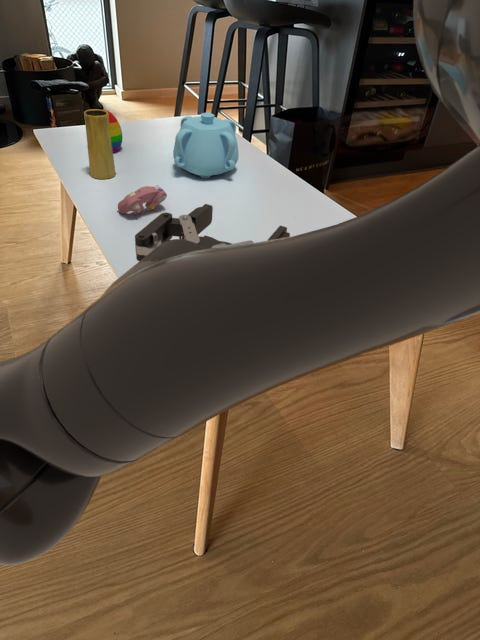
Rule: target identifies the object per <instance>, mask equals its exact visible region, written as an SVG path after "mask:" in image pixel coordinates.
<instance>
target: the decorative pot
mask: <svg viewBox="0 0 480 640" xmlns="http://www.w3.org/2000/svg"><path fill="white" fill-rule="evenodd" d="M236 132H237V125H236V123H235V122H234V121H233V120H231V119H229V118H226V119H222V118H219V117H217V116H215V114H214V113H212V112H202V113H200V116H195V117H192V116H190V115H188V116H184V117H182V118H181V119H180V127H179V130H178V132H177V133H176V135H175V138H174V145H173V153H172V154H173V159H174V160H173V163H174V165H175V166H177V167H179V168H181V169H183V170H184V171H187V172H188V173H191V174H193V175H196V176H199V178H202V179H209V178H211V176H217V175H221V174H224V173H228V172H229V171H233V170H234V169H235V167H236V164H237V163H238V161H239V154H240V153H239V145H238V141H237V137H236Z"/></svg>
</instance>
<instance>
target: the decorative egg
mask: <svg viewBox="0 0 480 640" xmlns="http://www.w3.org/2000/svg"><path fill="white" fill-rule="evenodd" d="M104 110H105V111H107V112H108V115H109V126H110V136H111V144H112V151H113V153H116V152H118V151H119V150H120V148H121V147H122V143H123V131H122V127H121V125H120V122H119V120H118V119H117V117H116V115H114V114H113V113H112V112H110V111H109V110H106V109H104Z"/></svg>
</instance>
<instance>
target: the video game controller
mask: <svg viewBox="0 0 480 640" xmlns="http://www.w3.org/2000/svg"><path fill="white" fill-rule="evenodd" d="M167 197H168V194H167V193H166V191H165V190H164V189H163V188H162V187H160V186H159V185H158V184H157V185H155V186H152V185H151V186H148V185H147V186H141V187H139V188H138V189H137V190H135V191H131V192H129V194H127V195H126V196H125V197H124V198H123V199H121V200H120V201H119V202H118V203H117V210H118V212H119V213H121V214H127V213H130V212H133V213H134V214H135V215H140V214H142V213H143V212H144V211H145V208H146V210H147V211H153V210H155V209H156V207H158V206H159V204H161V203H163V202H164V201H165V200H166V199H167ZM143 204H145V205H143Z"/></svg>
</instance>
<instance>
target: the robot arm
mask: <svg viewBox="0 0 480 640" xmlns="http://www.w3.org/2000/svg"><path fill="white" fill-rule="evenodd" d="M412 12H413V13H412V14H413V15H412V17H413V33H414V39H415V46H416V49H417V54H418V57H419V60H420V64H421V66H422V68H423V71H424V74H425V76H426V78H427V80H428V83H429V85H430V88H431V90H432V91H433V93H434V95H435V96H436V97H437V99H438V100H439V101H440V102H441V104H442V105H443V106H444V107H445V109H446V110H447V111H448V113H449V114H450V116H451V117H452V118H453V119H454V120H455V121H456V122H457V124H458V125H459V126H460V127H461V128H462V130H464V132H465V133H466V134H467V135H468V136H469V137H470V139H471V140H472V141H473V142H474V143H475V145H476V146H475V147H474V148H472V149H471V150H469V151H468V152H466V153H465V154H463V155H462V156H461V157H460V158H458V159H456V161H454V162H452V163H451V164H449V165H448V166H447V167H446V168H444V169H442V170H441V171H440V172H438V173H437V174H435V175H434V176H432V177H430V178H429V179H427V180H425V181H424V182H422V183H421V184H419V185H418V186H416V187H414V188H412V189H411V190H408V191H406V192H405V193H403V194H401V195H400V196H398V197H395V198H394V199H392V200H390V201H389V202H387V203H384V204H383V205H381V206H378V207H377V208H374V209H372V210H370V211H367V212H366V213H363V214H361V215H358V216H356V217H353V218H350V219H347V220H344V221H342V222H339V223H337V224H334V225H329V226H326V227H323V228H319V229H314V230H311V231H307V232H304V233H300V234H297V235H293V236H291V233H290V232H288V227H287V226H284V225H279V226H278V227H277V228H276V230H274V232H273V233H272V234H271V235H270V237H268V238H267V240H264V241H263V240H262V241H257V242H254V241H253V240H250V239H249V240H245V241H240V242H236V243H232V242H228V241H223V240H218V239H216V238H214V237H212V236H209V235H206V234H205V235H203V236H199V235H200V234H201V233H202V232H203V231H204V230H205V229H207V228H208V227H209V226H210V225H211V224H212V221H213V212H214V211H213V209H214V208H213V207H214V206H213V205H212V204H208V203H205V204H203V205H202V206H198V207H196V208H195V209H193V210H191V212H189V213H188V214H180V215H179V216H178V217H173V214H172V213H171V212H161V213H160V214H159V215H158V216H156V217H155V218H154V219H153V220H152V221H150V222H149V223H148V224H147V225H146V226H144V227H143V228H142V229H140V230H139V231H138V232H137V233H136V234H135V235H134V242H135V243H134V247H135V255H136V256H135V258H136V261H137V263H135V264H134V265H133V266H131V268H129V269H128V270H127V271H126V272H124V273H122V275H121V276H119V277H118V278H117V279H115V280H114V281H113V282H112V283H111V284H110V285H109V286H108V287H107V289H106V290H105V291H104V292H103V293H101V296H100V297H98V298H97V299H95V301H93V302H92V303H91V304H90V305H88V306H87V307H86V308H85V309H83V310H82V311H81V312H80V313H78V314H77V315H76V316H74V317H73V318H72V319H71V320H70V321H68V323H66V324H65V325H64V326H63V327H61V328H60V329H58V330H57V332H54V334H53V335H51V336H50V337H49V338H48V339H46V340H45V341H43V342H42V343H41V344H39V345H37V346H36V347H35V348H32V349H30V350H28V351H26V352H24V353H22V354H20V355H17V356H15V357H12V358H9V359H7V360H3V361H0V565H1V566H2V565H3V566H17V565H21V564H25V563H28V562H31V561H33V560H35V559H38V558H39V557H41V556H43V555H45V554H46V553H48V552H49V551H51V550H52V549H54V548H55V547H56V546H58V545H59V544H60V543H61V541H63V540H64V539H65V538H66V537H67V536H68V535H69V534H70V532H71V531H72V530H73V528H74V527H75V526H76V524H78V522H79V521H80V519H81V518H82V516H83V515H84V513H85V512H86V509H87V507H88V506H89V504H90V502H91V500H92V498H93V496H94V495H95V492H96V490H97V488H98V485H99V483H100V481H101V478H102V477H103V476H107V475H110V474H113V473H116V472H118V471H120V470H122V469H124V468H126V467H128V466H131V465H132V464H134V463H136V462H137V461H139V460H141V459H143V458H144V457H146V456H148V455H150V454H151V453H153V452H155V451H157V450H158V449H160V448H162V447H165V446H166V445H168V444H169V443H171V442H173V441H175V440H176V439H178V438H180V437H182V436H184V435H186V434H187V433H189V432H191V431H193V430H194V429H196V428H198V427H200V426H201V425H204V424H205V423H206V422H209V421H210V420H212V419H213V418H215V417H217V416H220V415H221V414H223V413H225V412H228V411H229V410H230V409H233V408H234V407H237V406H239V405H241V404H243V403H245V402H247V401H249V400H251V399H252V400H253V398H256V397H258V396H260V395H263V394H265V393H267V392H269V391H272V390H274V389H277V388H278V387H281V386H284V385H286V384H288V383H291V382H293V381H297V380H300V379H301V378H304V377H306V376H309V375H311V374H312V375H313V374H315V373H318V372H320V371H323V370H325V369H329V368H332V367H334V366H337V365H340V364H343V363H346V362H348V361H351V360H353V359H356V358H359V357H363V356H365V355H367V354H370V353H372V352H373V353H374V352H377V351H379V350H383V349H384V348H387V347H390V346H393V345H396V344H399V343H402V342H405V341H407V340H410V339H413V338H416V337H418V336H421V335H424V334H427V333H429V332H432V331H435V330H439V329H441V328H444V327H447V326H448V325H452V324H454V323H457V322H460V321H463V320H465V319H468V318H471V317H474V316H477V315H479V314H480V0H412ZM174 237H177V238H174ZM173 238H174V239H173Z"/></svg>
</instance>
